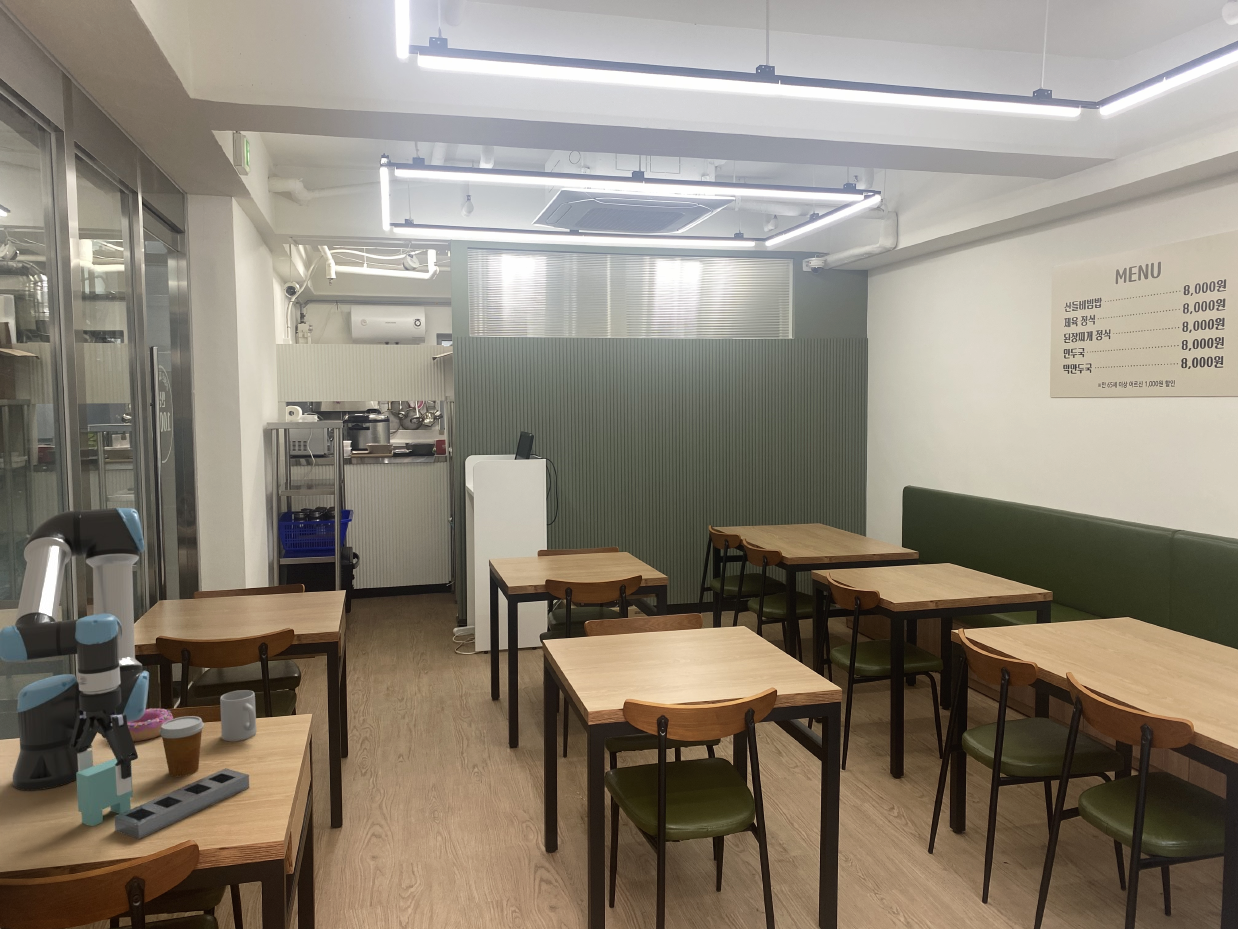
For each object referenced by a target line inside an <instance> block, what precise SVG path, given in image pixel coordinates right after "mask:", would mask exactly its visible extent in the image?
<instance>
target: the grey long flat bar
mask: <svg viewBox="0 0 1238 929" xmlns="http://www.w3.org/2000/svg"><path fill="white" fill-rule="evenodd" d="M246 789H250V775H249V774H247V773H244V772H240V771H237V770H234V769H229V768H227V767H226V768H224V769H221V770H219V771H216V772H213V773H212V774H209V775H207V776H205V777H203V778H200V779H198V780H195V781H193V782H191V783H189V784H186V785H184V786H181V787H178V788H177V789H175V790H173V791H170V792H167V793H166V794H164V795H161V796H159V797H156V798H155V799H154V798H153V799H152V800H149V801H147V802H144V803H142V804H139V805H138V806H136V807H133V808H131V810H128V811H126V812H124V813H121V814H119V813H118V814H117V815H115V816H114V828H115V829H114V830H115V832H119V833H121V834H123V835H127V836H130V837H132V838H135V839H137V840H140V839H141V840H142V839H143V838H145V837H147V836H149V835H150V834H154V833H155V832H157V831H159V830H162V829H163V828H166V827H168V826H170V825H172V824H175V823H177V822H179V821H181V820H184V819H185V818H187V817H189V816H192V815H194V814H196V813H198V812H201V811H202V810H205V809H206V808H210V807H211V806H213V805H216V804H217V803H220V802H221V801H224V800H227V799H228V798H230V797H232V796H234V795H236V794H238V793H241V792H243V791H245V790H246Z"/></svg>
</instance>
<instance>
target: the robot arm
mask: <svg viewBox="0 0 1238 929" xmlns="http://www.w3.org/2000/svg"><path fill="white" fill-rule="evenodd" d="M26 540H27V541H26V542H25V546H24V552H23V558H24V560H25V561H26V567H25V571H24V576H23V581H22V587H21V591H20V596H19V597H20V598H19V602H18V608H17V613H16V617H15V622H14V624H13V625H11V626H10V625H9V626H6V627H3V628H1V630H0V659H1V660H2V661H3V662H6V663H7V662H8V663H9V662H10V663H13V662H22V661H23V662H26V661H32V660H40V659H48V658H55V657H61V656H63V657H64V656H73V655H76V656H77V658H76V659H77V674H78V676H77V677H78V678H77V677H76V675H75V674H72V673H69V674H66V673H65V674H59V675H58V674H57V675H53V676H49V677H47V678H43V679H40V680H36V681H34V682H31V683H30V684H28V685H26V686H24V687H23V688H22V689H21V690H19V692H18V695H17V708H16V712H17V719H18V732H19V736H18V737H19V753H18V757H17V761H16V764H15V767H14V770H13V773H12V786H13V788H14V789H17V790H21V791H38V790H45V789H46V790H47V789H52V788H56V787H60V786H62V785H66V784H68V783H71V782H74V781H77V777H76V773H77V772H80V771H82V770H85V769H88V768H90V767H93V766H94V758H93V757H94V756H93V749H92V748H93V745H92V744H93V741H94V740H95V738H96V736H97V734H99V735H101V737H102V738H103V739H105V740H106V741H107V744H108V745H109V747H110V749H111V751H112V752H111V753H113V755H114V758H116V760H117V763H116V764H115V769H116V788H117V795H122V794H124V793H127V792H129V791H132V789H133V784H132V785H131V769H132V762H133V761H135V760H137V759H139V755H138V752H137V749H136V746H135V744H134V742H133V740H132V737H131V734H130V731H129V728H128V725H127V722H130V721H135V720H138V719H140V718H141V717H142V716H143V715H144V713H145V710H146V709H147V702H148V694H149V693H148V692H149V685H150V684H149V683H150V682H149V679H150V673H149V672H148V671H147V670H143V664H142V663H141V662H139V661H138V660H137V659H136V649H135V621H134V620H135V619H134V616H135V613H134V585H133V583H134V579H133V578H134V577H133V565H134V564H135V563H136V562H137V561H138V560H139V559H140V553H142V552H144V551H146V547H145V540H144V536H143V530H142V524H141V520H140V515H139V512H138V511H137V509H135V508H131V507H123V508H121V507H113V508H111V507H110V508H99V509H97V508H96V509H84V510H83V509H82V510H66V511H62V512H60V513H57V514H55V515H53V516H51V517H49V518H48V519H46V520H45V521H43V522H41V524H40V525H38V526H37V527H36V528H35V530H33V532H32V533H31V534H30V535H29V536H28V539H26ZM72 557H85V563H86V564H88V565H89V566H90V568H92V582H93V584H92V585H93V591H92V592H93V595H92V596H93V614H92V615H87V616H84V617H81V618H79V619H78V618H77V619H76V618H75V619H70V620H69V619H68V620H59V621H58V616H59V607H60V602H61V596H62V587H63V583H64V582H63V580H64V574H65V566H66V564H67V563H69V561H70V559H71V558H72Z"/></svg>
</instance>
